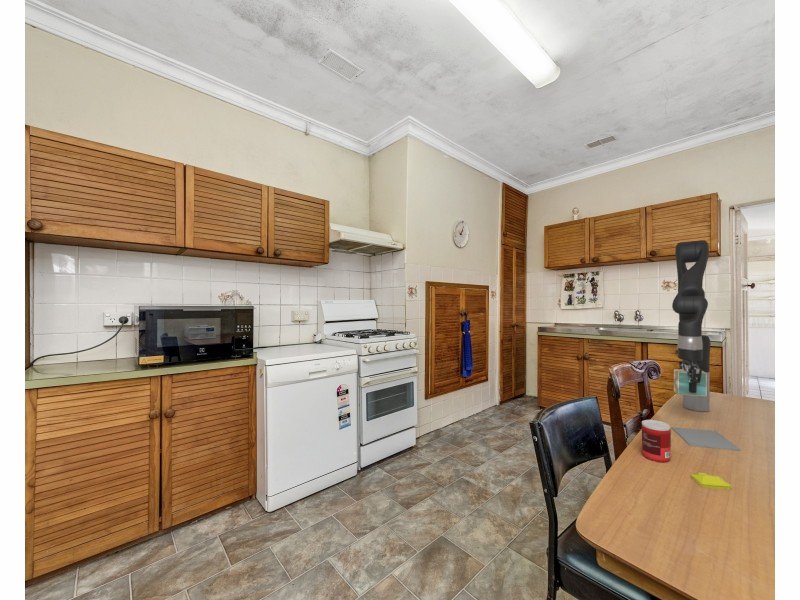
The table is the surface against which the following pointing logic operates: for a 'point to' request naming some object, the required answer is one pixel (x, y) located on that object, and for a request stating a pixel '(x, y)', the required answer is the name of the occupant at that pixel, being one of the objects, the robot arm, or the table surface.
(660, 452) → the canned food
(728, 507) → the table surface
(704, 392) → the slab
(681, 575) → the table surface
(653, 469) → the table surface
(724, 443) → the mat
